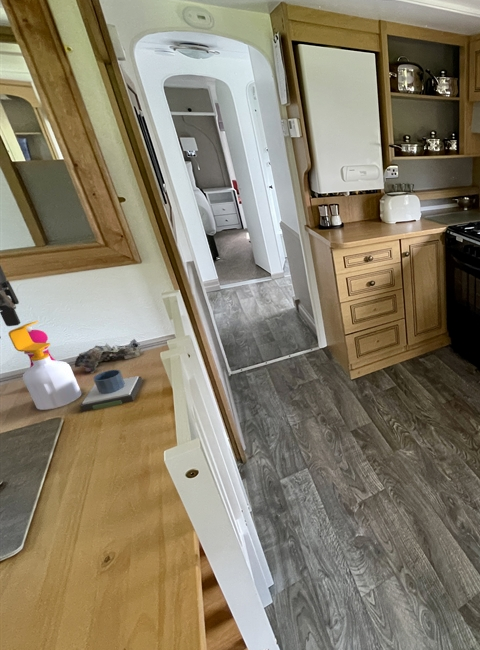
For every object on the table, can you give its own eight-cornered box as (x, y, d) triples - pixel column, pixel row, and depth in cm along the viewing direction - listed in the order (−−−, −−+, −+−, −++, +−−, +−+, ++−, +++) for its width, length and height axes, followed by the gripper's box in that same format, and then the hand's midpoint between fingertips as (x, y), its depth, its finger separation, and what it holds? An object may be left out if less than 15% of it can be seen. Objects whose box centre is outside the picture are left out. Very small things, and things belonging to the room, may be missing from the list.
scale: (82, 414, 102) (78, 405, 101) (96, 391, 111) (93, 383, 110) (133, 403, 107) (130, 394, 106) (143, 382, 116) (140, 374, 115)
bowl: (95, 396, 105) (90, 382, 103) (102, 385, 110) (97, 372, 108) (121, 391, 107) (116, 377, 106) (127, 380, 112) (122, 367, 110)
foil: (145, 353, 126) (85, 342, 116) (130, 381, 127) (69, 373, 116) (144, 338, 135) (88, 327, 124) (130, 365, 135) (73, 356, 124)
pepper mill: (30, 389, 112) (1, 329, 104) (61, 377, 118) (36, 319, 111) (44, 395, 109) (15, 333, 102) (75, 382, 116) (50, 323, 108)
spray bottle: (62, 411, 103) (26, 331, 94) (27, 411, 102) (-14, 331, 93) (90, 391, 111) (59, 316, 102) (57, 392, 111) (23, 316, 102)
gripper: (-34, 257, 84) (-2, 323, 90) (-81, 275, 72) (-41, 349, 78) (13, 254, 87) (41, 318, 93) (-24, 271, 75) (10, 342, 81)
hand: (4, 332), depth 86 cm, fingers open, 8 cm apart
